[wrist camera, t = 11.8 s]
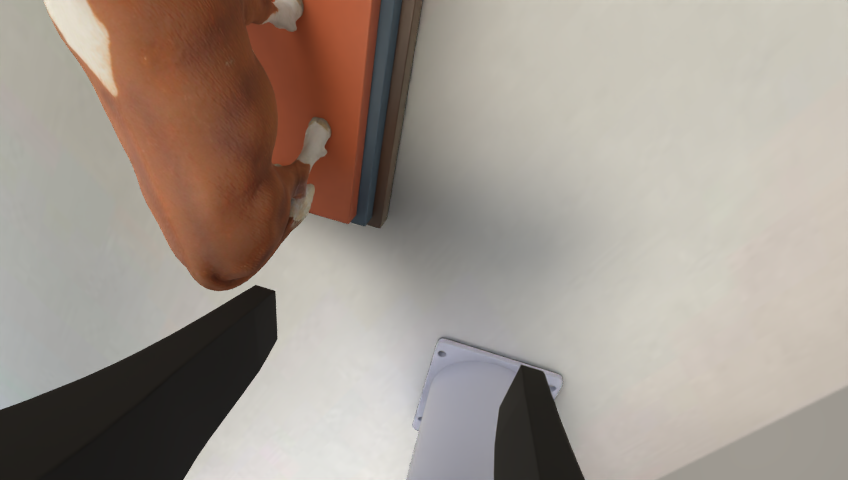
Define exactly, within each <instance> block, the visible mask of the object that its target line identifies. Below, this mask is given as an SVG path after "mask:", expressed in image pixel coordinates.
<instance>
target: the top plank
mask: <svg viewBox="0 0 848 480" xmlns="http://www.w3.org/2000/svg"><path fill="white" fill-rule="evenodd" d="M271 1H272V2H275V0H271ZM302 2H303V6H304V11H303V15H302V16H301V17H300V18H299V19H298V20H297V21H296V27H297V30H296V31H294V32H289V31H287V30H286V29H279V28H277V27H275V26H274V25H273V24H272V23H270V22H267V23H264V24H261V25H257V24H254V23H251V24H249V25H247V26H246V28H247V32H248V35H249V39H250V43H251V47H252V49H253V51H254V53H255V55H256V57H257V58H258V60H259V61H260V63H261V65H262V66H263V68H264V70H265V72H266V74H267V75H268V77H269V80H270V82H271V85H272V87H273V90H274V93H275V97H276V103H277V111H278V129H277V137H276V142H275V146H274V150H273V154H272V163H273V164H280V165H282V166H286V165H290V164H291V163H293V162H294V161H295V160H296V159H297V158H298V156H299V155H300V153H301V151H302V149H303V146H304V139H305V133H306V130H307V128H308V124H309V122H310V121H311V119H312V118H313V117H319V118H323V119H325V120H326V121H327V122H328V124H329V126H330V127H331V137H330V138H329V139H328V140H327V142H326V144H325V149H326V150H327V154H326V155H325V156H323V157H321V158H319V159H318V160H317V161H316V162H315V163H314V165H313V166H312V169H311V171H310V174H309V177H308V180H307V184H313V185H314V187H315V193H314V195H313V201H312V203H311V208H310V210H309V213H312V214H315V215H319V216H322V217H326V218H329V219H333V220H336V221H339V222H343V223H346V224H349V223H350V222H351V221H352V219H353V218H354V217H355V216H356V212H357V204H358V195H359V186H360V178H361V169H362V160H363V152H364V143H365V134H366V126H367V117H368V108H369V99H370V91H371V82H372V73H373V65H374V56H375V47H376V39H377V30H378V21H379V13H380V4H381V0H302Z"/></svg>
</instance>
